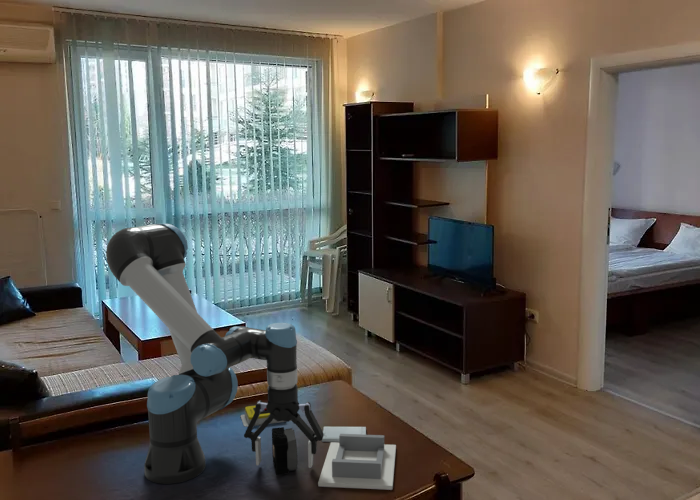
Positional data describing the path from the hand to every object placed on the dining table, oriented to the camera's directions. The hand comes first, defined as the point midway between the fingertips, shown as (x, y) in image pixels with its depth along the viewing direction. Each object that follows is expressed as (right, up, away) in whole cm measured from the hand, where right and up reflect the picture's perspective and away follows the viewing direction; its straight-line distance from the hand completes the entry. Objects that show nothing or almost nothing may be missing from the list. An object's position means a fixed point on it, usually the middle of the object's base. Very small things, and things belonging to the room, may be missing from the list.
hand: (284, 464), depth 163 cm
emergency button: (-9, +3, +32) cm, 34 cm away
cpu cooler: (0, -1, 0) cm, 2 cm away
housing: (+19, -1, +1) cm, 19 cm away
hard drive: (+15, +1, +19) cm, 25 cm away
